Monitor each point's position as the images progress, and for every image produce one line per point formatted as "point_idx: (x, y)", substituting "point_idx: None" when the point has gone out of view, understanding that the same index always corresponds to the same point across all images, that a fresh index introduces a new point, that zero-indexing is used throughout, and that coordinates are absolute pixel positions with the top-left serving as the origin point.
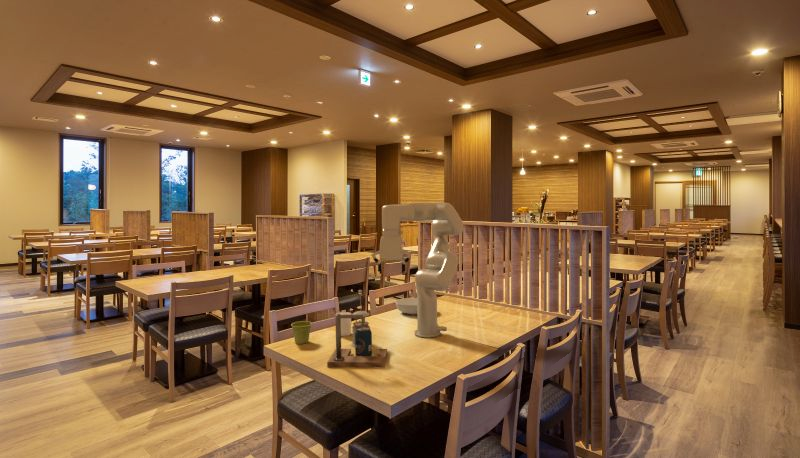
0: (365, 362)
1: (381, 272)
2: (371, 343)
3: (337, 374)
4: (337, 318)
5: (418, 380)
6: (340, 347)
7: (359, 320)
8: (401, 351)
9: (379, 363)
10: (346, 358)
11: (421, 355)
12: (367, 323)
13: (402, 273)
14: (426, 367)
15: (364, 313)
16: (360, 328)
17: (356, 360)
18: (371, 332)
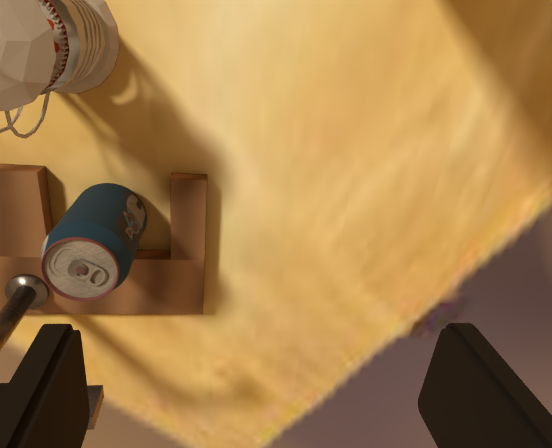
0: (138, 313)
1: (83, 392)
2: (138, 243)
3: None
4: None
5: (302, 377)
6: (17, 324)
7: (6, 116)
8: (265, 151)
9: (188, 311)
10: None
11: (339, 199)
12: (55, 21)
13: (423, 401)
14: (337, 300)
15: (14, 77)
16: (60, 249)
17: (101, 299)
18: (129, 260)
